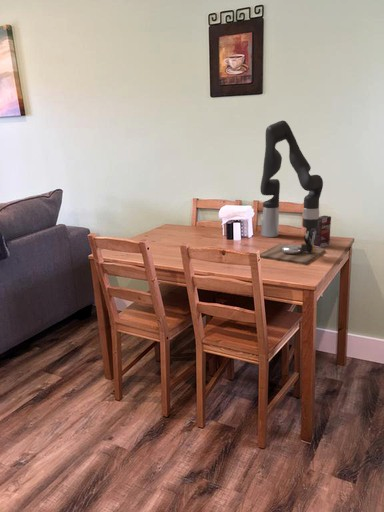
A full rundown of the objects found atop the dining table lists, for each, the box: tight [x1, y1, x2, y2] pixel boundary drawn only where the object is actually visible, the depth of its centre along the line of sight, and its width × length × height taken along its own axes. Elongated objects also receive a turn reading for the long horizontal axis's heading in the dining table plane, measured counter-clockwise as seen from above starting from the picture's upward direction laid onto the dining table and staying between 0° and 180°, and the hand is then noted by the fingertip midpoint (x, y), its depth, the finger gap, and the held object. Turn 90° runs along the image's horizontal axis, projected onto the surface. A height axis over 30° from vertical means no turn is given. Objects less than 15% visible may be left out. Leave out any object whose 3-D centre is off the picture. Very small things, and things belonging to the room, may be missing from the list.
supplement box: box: [313, 214, 332, 249], centre depth 225 cm, size 9×5×16 cm, turn 128°
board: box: [259, 243, 326, 266], centre depth 215 cm, size 25×25×2 cm
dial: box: [282, 243, 315, 254], centre depth 213 cm, size 16×10×4 cm, turn 77°
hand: (309, 251), depth 209 cm, fingers closed
